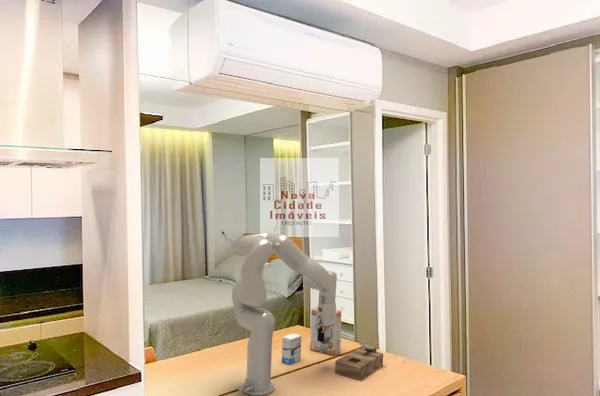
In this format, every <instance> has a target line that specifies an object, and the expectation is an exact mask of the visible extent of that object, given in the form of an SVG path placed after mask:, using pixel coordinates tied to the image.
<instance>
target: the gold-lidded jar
mask: <svg viewBox="0 0 600 396" xmlns="http://www.w3.org/2000/svg"><path fill="white" fill-rule="evenodd" d="M321 325H322V324H321ZM331 328H332V326H327V327H325V328H324V332H323V333H324V342H320V341H319V342H320V352H319V353H321V354H325V353H328V343H329V342H331ZM321 329H322V327H321Z"/></svg>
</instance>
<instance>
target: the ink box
mask: <svg viewBox="0 0 600 396" xmlns="http://www.w3.org/2000/svg"><path fill="white" fill-rule="evenodd" d="M281 348H282V350H281V363H283V364H286V365H289V366H290V365H292V364H295V363H297V362H300V361H301V356H302V355H301V354H302V335H301V334H297V333H295V332H293V333H289V334H286V335H284V336H283V337H282V345H281Z"/></svg>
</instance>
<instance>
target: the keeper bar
mask: <svg viewBox="0 0 600 396" xmlns="http://www.w3.org/2000/svg"><path fill="white" fill-rule="evenodd" d="M359 345H360V346H361V348H363V349H364V348H365V349H366V350H368V351H372V352H373V348H374V347H372V346H370V345H368V344H367V343H364V342H359Z"/></svg>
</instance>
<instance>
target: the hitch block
mask: <svg viewBox="0 0 600 396" xmlns="http://www.w3.org/2000/svg"><path fill="white" fill-rule="evenodd" d="M372 348H373V352H372V351H368V350H366V349H365V348H363V347H359V348H357V349H354V350H353V351H351V352H349V353H347V354H346V355H344V356H342V357H340V358H338V359H336V360H335V363H334V374H336V375H339V376H343V377H345V378H349V379H352V380H356V381H358V382H359V381H361V380H364V379H365V378H366V377H368V376H369V375H370V374H372V373H374V372H375V371H377V370H378V369H380V368H381V367H383V366H384V365H383V364H384V353H382V352H378V351H377V347H375V346H374V347H372Z"/></svg>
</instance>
